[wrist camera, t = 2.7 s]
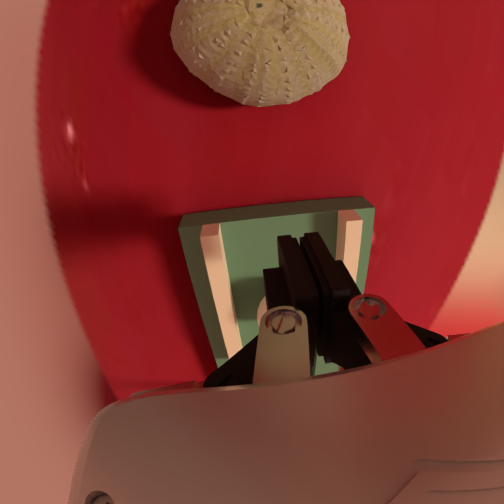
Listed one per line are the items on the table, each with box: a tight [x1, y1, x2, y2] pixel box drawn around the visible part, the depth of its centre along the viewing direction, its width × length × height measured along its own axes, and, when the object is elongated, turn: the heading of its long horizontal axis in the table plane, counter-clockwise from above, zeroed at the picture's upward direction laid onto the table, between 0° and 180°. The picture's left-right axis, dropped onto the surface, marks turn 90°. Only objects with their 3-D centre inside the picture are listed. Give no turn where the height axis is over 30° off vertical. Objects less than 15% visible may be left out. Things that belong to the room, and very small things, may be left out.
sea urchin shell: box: [170, 0, 350, 107], centre depth 11 cm, size 9×8×8 cm
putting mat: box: [178, 196, 375, 376], centre depth 17 cm, size 20×14×14 cm
